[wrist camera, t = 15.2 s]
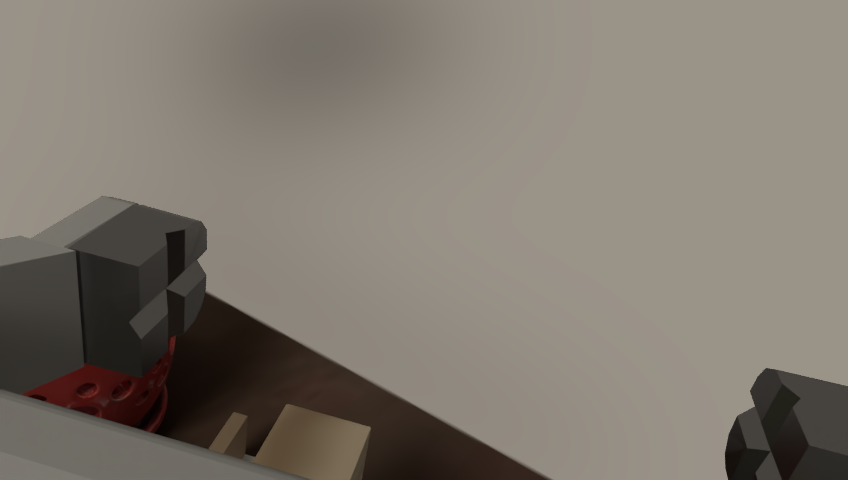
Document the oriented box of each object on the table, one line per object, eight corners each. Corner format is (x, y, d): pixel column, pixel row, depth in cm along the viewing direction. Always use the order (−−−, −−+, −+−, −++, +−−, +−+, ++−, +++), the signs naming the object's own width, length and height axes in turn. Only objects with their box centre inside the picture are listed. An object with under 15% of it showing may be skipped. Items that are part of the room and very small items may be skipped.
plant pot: (-35, 388, 49) (-62, 244, 43) (157, 354, 56) (155, 225, 50) (-35, 532, 39) (-70, 372, 34) (196, 470, 46) (199, 327, 41)
